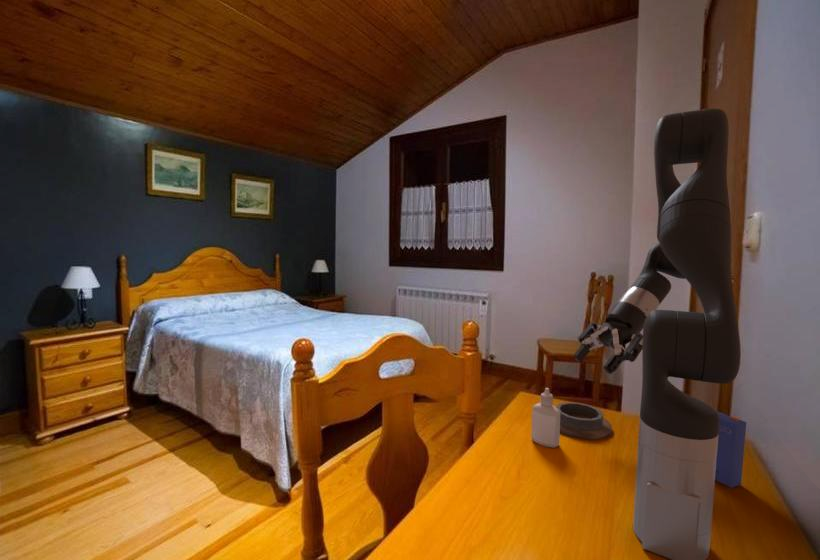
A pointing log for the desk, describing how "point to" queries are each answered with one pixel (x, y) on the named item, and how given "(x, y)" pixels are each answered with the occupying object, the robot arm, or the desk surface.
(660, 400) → the robot arm
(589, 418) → the bottle collar
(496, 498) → the desk surface
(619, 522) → the desk surface
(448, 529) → the desk surface
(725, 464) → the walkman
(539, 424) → the eye dropper bottle
